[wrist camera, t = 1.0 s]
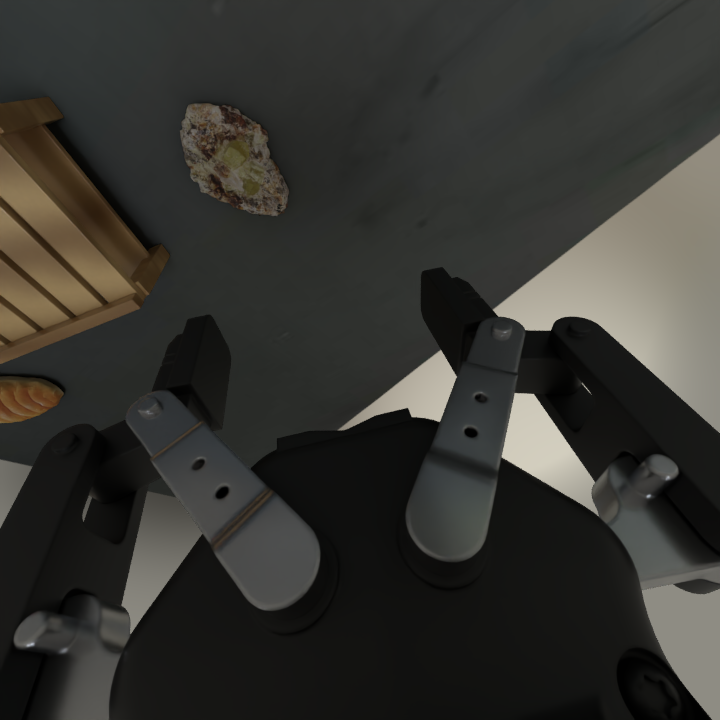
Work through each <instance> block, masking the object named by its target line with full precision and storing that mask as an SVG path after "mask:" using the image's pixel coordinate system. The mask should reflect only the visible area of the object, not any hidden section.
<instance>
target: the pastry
mask: <svg viewBox="0 0 720 720" xmlns="http://www.w3.org/2000/svg"><path fill="white" fill-rule="evenodd" d="M63 393H64V392H62V391H61V390H60V388H58V387H57V386H56V385H54V384H52V383H51V382H49V381H47V380H44V379H41V378H34V377H30V378H25V377H19V376H1V377H0V423H11V422H18V421H23V420H26V419H30V418H32V417H35V416H38V415H40V414H42V413H44V412H46V411H47V410H48V409H50V408H52V407H54V406H56V405H58V403H59V401H60V399H61V397H62V396H63Z"/></svg>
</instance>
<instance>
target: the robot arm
mask: <svg viewBox="0 0 720 720" xmlns="http://www.w3.org/2000/svg"><path fill="white" fill-rule="evenodd" d="M421 312H422V316H423V319H424V321H425V323H426V325H427V326H428V328H429V330H430V331H431V333H432V335H433V337H434V338H435V340H436V342H437V343H438V345H439V347H440V349H441V350H442V352H443V354H444V355H445V357H446V359H447V361H448V362H449V364H450V366H451V367H452V369H453V371H454V372H455V374H456V376H457V378H456V381H455V383H454V386H453V389H452V392H451V394H450V397H449V400H448V402H447V405H446V408H445V410H444V413H443V416H442V419H441V421H440V422H437V421H434V420H430V419H426V418H417V417H411V415H410V412H409V410H408V408H406V409H402V410H397V411H393V412H389V413H384V414H380V415H376V416H374V417H372V418H370V419H368V420H366V421H364V422H362V423H360V424H357V425H355V426H353V427H351V428H349V429H347V430H342V431H307V432H303V433H299V434H294V435H290V436H286V437H282V438H277V450H275V451H273V452H271V453H269V454H268V455H266V456H265V457H263V458H262V459H261V460H259V461H258V462H257V463H256V464H255V465H254V466H253V467H252V468H251V469H250V468H249V467H248V466H247V465H246V464H245V463H244V462H243V461H242V460H241V459H240V458H239V457H238V456H237V455H236V454H235V453H234V452H233V451H232V450H231V449H230V448H229V447H228V446H227V445H226V444H225V443H224V442H223V441H222V440H221V439H220V438H219V437H218V436H217V435H216V434H215V433H214V432H213V431H216V430H221V429H222V427H223V419H224V412H225V404H226V397H227V389H228V382H229V374H230V367H231V355H230V351H229V348H228V346H227V344H226V342H225V340H224V338H223V336H222V334H221V332H220V330H219V328H218V326H217V324H216V322H215V320H214V319H213V317H212V316H211V315H205V316H200V317H195V318H190V319H188V320H187V323H186V326H185V329H184V332H183V334H180V335H177V336H176V337H175V338H174V339H173V341H172V342H171V343H170V344H169V345H168V348H167V350H166V353H165V357H164V359H163V361H162V366H161V367H160V370H159V372H158V375H157V378H156V381H155V384H154V386H153V389H152V392H151V393H149V394H146V395H144V396H143V397H141V398H140V399H138V400H137V401H136V402H135V403H134V404H133V405H132V406H131V407H130V408H129V410H128V411H127V414H126V418H125V419H126V420H124V421H122V422H119V423H117V424H115V425H113V426H110V427H108V428H106V429H104V430H102V431H97V430H96V429H95V428H94V427H93V426H91V425H89V424H78V425H75V426H72V427H69V428H67V429H65V430H63V431H61V432H60V433H58V434H57V435H56V436H54V437H53V438H52V439H51V440H50V441H49V442H48V443H47V444H46V445H45V446H44V447H43V449H42V450H41V452H40V454H39V456H38V458H37V460H36V461H35V463H34V465H33V467H32V469H31V471H30V473H29V475H28V477H27V479H26V481H25V482H24V484H23V486H22V488H21V490H20V492H19V494H18V496H17V498H16V500H15V502H14V503H13V505H12V507H11V509H10V511H9V513H8V515H7V517H6V519H5V521H4V523H3V524H2V526H1V528H0V720H712V719H711V718H710V717H709V715H707V713H706V712H705V711H704V709H703V708H702V707H701V706H700V705H699V703H698V702H697V701H696V700H695V698H693V696H692V695H691V694H690V692H689V691H688V690H687V689H686V687H685V686H684V685H683V683H682V682H681V681H680V679H679V678H678V676H677V675H676V674H675V672H674V671H673V669H672V667H671V666H670V664H669V663H668V661H667V659H666V657H665V655H664V653H663V651H662V649H661V647H660V644H659V642H658V640H657V638H656V636H655V633H654V631H653V628H652V625H651V623H650V620H649V618H648V614H647V611H646V607H645V604H644V600H643V595H642V590H645V589H649V588H654V587H660V586H665V585H670V584H673V585H675V586H677V587H679V588H681V589H683V590H685V591H688V592H691V593H696V594H706V593H710V592H713V591H715V590H718V589H720V433H719V432H718V431H716V430H715V429H714V428H713V427H712V426H711V425H710V424H709V423H708V422H706V421H705V420H704V419H703V418H702V417H701V416H700V415H699V414H697V413H696V412H695V411H694V410H693V409H692V408H691V407H690V406H689V405H688V404H686V403H685V402H684V401H683V400H682V399H681V398H680V397H679V396H677V395H676V394H675V393H674V392H673V391H672V390H671V389H670V388H669V387H668V386H666V385H665V384H664V383H663V382H662V381H661V380H660V379H659V378H657V377H656V376H655V375H654V374H653V373H652V372H651V371H650V370H649V369H647V368H646V367H645V366H644V365H643V364H642V363H641V362H640V361H638V360H637V359H636V358H635V357H634V356H633V355H632V354H631V353H629V351H627V350H626V349H625V348H624V347H623V346H622V345H621V344H619V342H617V341H616V340H615V339H614V338H613V337H612V336H611V335H610V334H609V333H607V332H606V331H605V330H604V329H603V328H602V327H601V326H599V325H598V324H597V323H595V322H593V321H591V320H588V319H585V318H580V317H564V318H561V319H558V320H557V321H556V322H555V323H554V324H553V327H552V330H551V331H528V330H525V329H524V327H523V326H522V325H521V324H520V323H519V322H517V321H515V320H513V319H510V318H506V317H498V316H497V315H496V313H495V312H494V311H493V310H492V309H491V308H490V307H489V306H488V304H487V303H486V302H485V301H484V300H483V299H482V298H480V295H479V294H478V293H477V292H475V290H474V289H473V287H472V286H471V285H470V284H469V283H468V282H466V281H464V280H462V279H460V278H458V277H455V278H451V277H450V276H449V274H448V273H447V272H446V271H445V269H444V268H442V267H440V268H435V269H430V270H425V271H423V272H422V274H421ZM582 383H583V384H584V385H585V386H586V388H587V389H588V390H589V391H590V393H591V394H590V393H589V392H588V391H587V389H586V388H585V387H584V386H583V385H582ZM514 393H529V394H534V395H535V396H536V398H537V399H538V400H539V402H540V403H541V405H542V406H543V408H544V409H545V411H546V412H547V413H548V415H549V416H550V418H551V419H552V420H553V422H554V423H555V425H556V426H557V428H558V429H559V431H560V432H561V434H562V435H563V436H564V438H565V439H566V441H567V442H568V444H569V445H570V447H571V448H572V449H573V451H574V452H575V453H576V455H577V456H578V458H579V459H580V461H581V462H582V464H583V465H584V466H585V468H586V469H587V471H588V472H589V474H590V475H591V477H592V478H593V480H594V481H595V484H594V485H593V488H592V499H593V502H594V504H595V506H596V508H597V510H598V514H599V517H598V516H597V515H596V514H595V513H594V512H592V511H591V510H589V509H588V508H586V507H585V506H583V505H582V504H580V503H578V502H576V501H575V500H573V499H571V498H570V497H568V496H566V495H564V494H563V493H561V492H559V491H558V490H556V489H554V488H552V487H551V486H549V485H548V484H546V483H544V482H542V481H541V480H539V479H537V478H536V477H534V476H532V475H531V474H529V473H527V472H526V471H524V470H522V469H520V468H519V467H517V466H515V465H514V464H512V463H510V462H508V461H507V460H505V459H503V458H502V452H503V447H504V442H505V437H506V432H507V427H508V423H509V418H510V413H511V408H512V403H513V398H514ZM161 477H162V478H163V479H164V481H165V482H166V483H167V485H168V486H169V487H170V489H171V490H172V492H173V493H174V494H175V496H176V497H177V499H178V500H179V501H180V503H181V504H182V505H183V507H184V508H185V510H186V511H187V512H188V514H189V515H190V516H191V518H192V519H193V521H194V522H195V524H196V525H197V526H198V528H199V529H200V530H201V532H202V533H203V534H202V535H201V537H200V538H199V539H198V541H197V542H196V544H195V545H194V546H193V548H192V549H191V550H190V552H189V553H188V555H187V556H186V557H185V559H184V560H183V562H182V563H181V564H180V566H179V567H178V569H177V570H176V571H175V573H174V574H173V576H172V577H171V579H170V580H169V581H168V582H167V584H166V585H165V587H164V588H163V590H162V591H161V592H160V594H159V595H158V597H157V598H156V599H155V601H154V602H153V603H152V605H151V606H150V607H149V609H148V610H147V612H146V613H145V614H144V616H143V617H142V619H141V620H140V622H139V623H138V625H137V626H136V627H135V629H134V630H133V632H132V633H131V634H130V617H129V613H128V612H127V610H126V609H125V608H124V607H122V606H121V604H122V600H123V596H124V590H125V587H126V582H127V578H128V573H129V569H130V564H131V560H132V556H133V551H134V546H135V542H136V538H137V534H138V529H139V525H140V521H141V516H142V512H143V507H144V503H145V498H146V493H147V490H148V485H149V484H150V483H152V482H154V481H155V480H157V479H159V478H161ZM89 495H90V496H91V497H92V500H91V502H90V505H89V508H88V511H87V514H86V517H85V520H84V522H83V519H82V513H83V509H84V507H85V504H86V501H87V498H88V496H89Z"/></svg>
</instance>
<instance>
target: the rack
mask: <svg viewBox="0 0 720 720" xmlns="http://www.w3.org/2000/svg"><path fill="white" fill-rule="evenodd" d="M62 118H64V116H63V115H62V114H61V112H60V111H59V110H58V108H57V107H56V106H55V104H54V103H53V102H52V101H51V99H50V98H49V97H43V98H36V99H28V100H21V101H14V102H7V103H0V364H1V363H4V362H6V361H9V360H12V359H14V358H17V357H19V356H22V355H24V354H27V353H29V352H32V351H34V350H37V349H39V348H42V347H44V346H47V345H49V344H52V343H54V342H57V341H60V340H62V339H65V338H67V337H70V336H72V335H75V334H77V333H80V332H82V331H85V330H87V329H90V328H92V327H95V326H97V325H100V324H102V323H105V322H108V321H110V320H113V319H115V318H118V317H120V316H123V315H125V314H128V313H130V312H133V311H135V310H138V309H140V308H141V306H142V305H143V303H144V301H143V300H144V299H145V297H146V296H147V295H149V294H150V292H151V291H152V289H153V287H154V285H155V283H156V281H157V279H158V278H159V276H160V274H161V272H162V270H163V268H164V266H165V265H166V263H167V261H168V259H169V257H170V254H169V253H168V252H167V251H166V249H165V248H164V247H163V245H162V244H160V245H157V246H155V247H152V248H150V249H149V250H148V251H147V250H146V249H145V248H144V246H143V245H142V244H141V243H140V241H139V240H138V239H137V238H136V236H135V235H134V234H133V233H132V232H131V230H130V229H129V228H128V227H127V225H126V224H125V223H124V222H123V220H122V219H121V218H120V217H119V215H118V214H117V213H116V212H115V211H114V209H113V208H112V207H111V206H110V204H109V203H108V202H107V201H106V199H105V198H104V197H103V196H102V195H101V193H100V192H99V191H98V190H97V188H96V187H95V186H94V185H93V183H92V182H91V181H90V180H89V178H88V177H87V176H86V175H85V174H84V172H83V171H82V170H81V169H80V167H79V166H78V165H77V164H76V162H75V161H74V160H73V159H72V157H71V156H70V155H69V154H68V153H67V151H66V150H65V149H64V148H63V146H62V145H61V144H60V143H59V141H58V140H57V139H56V138H55V137H54V135H53V134H52V133H51V132H50V130H49V129H48V128H47V127H46V125H48V124H51V123H53V122H55V121H58V120H60V119H62ZM97 292H99V293H100V294H101V295H102V296H103V297H104V298H105V299H106V300H107V301H108V302H109V303H108V302H107V301H106V300H105V299H104V298H103V297H102V296H101V295H100V294H99V293H97ZM65 306H66V307H67V308H66V307H65ZM73 313H74V314H75V315H74V314H73Z"/></svg>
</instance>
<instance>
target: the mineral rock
mask: <svg viewBox="0 0 720 720" xmlns="http://www.w3.org/2000/svg"><path fill="white" fill-rule="evenodd" d="M181 124H182V127H183V128H182V130H180V137H181V142H182V146H183V152H184V157H185V161H186V164H187V166H188V167H189V168H190V169H191V174H190V176H191V178H192V180H193V181H194V182H198V183H199V187H200V190H201V192H202V193H207V194H209V195H210V196H212V197H215V198H217V200H220V201H222V202H228V203H230V204H231V205H232V206H233V207H237V209H241V210H243V209H244V210H247V211H248V212H249V213H250V214H259V216H260V215H262V214H264V215H266V214H268V215H272V216H277V215H279V214H281V213H284V209H285V208H287V205H288V204H287V201H288V196H289V190H288V187H287V184H286V183H285V181H284V178H283V176H282V175H281V174H280V171H279V169H278V166H277V165H276V163H275V162H274V161H273V160H272V159H271V158H270V150H269V149H268V148H267V144H266V142H267V141H268V140H269V139H268V136H267V131H266V130H264V129H263V128H262V127H261V125H260V124H257V123H256V122H254V121H252V120H251V119H250V118H247V117H246V116H244V115H242V114H241V113H240V112H239V110H238V109H235V108H232V107H231V106H230V105H223V106H215V105H212V104H190V105H188V107H187V109H186V114H185V119H184V120H182V121H181Z"/></svg>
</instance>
